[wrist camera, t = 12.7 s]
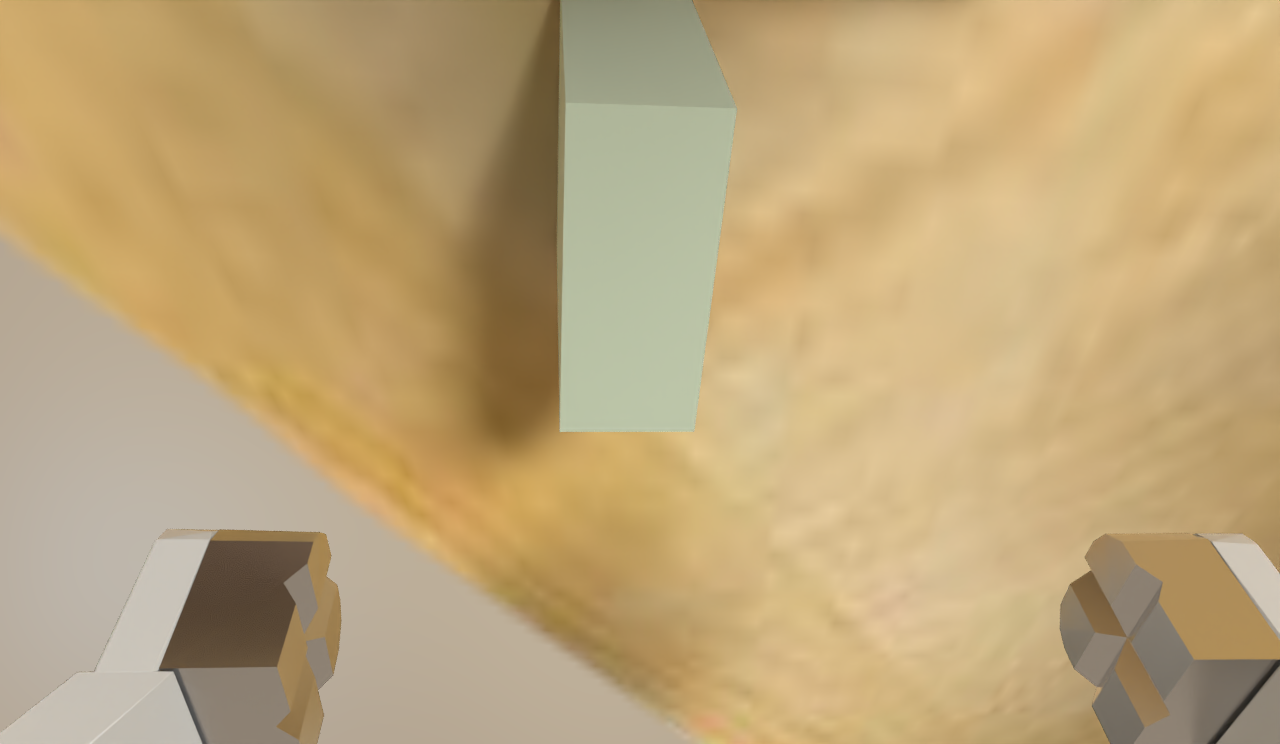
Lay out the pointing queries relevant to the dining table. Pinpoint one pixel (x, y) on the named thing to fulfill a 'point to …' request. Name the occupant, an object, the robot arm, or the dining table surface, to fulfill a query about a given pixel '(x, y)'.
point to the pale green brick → (637, 211)
